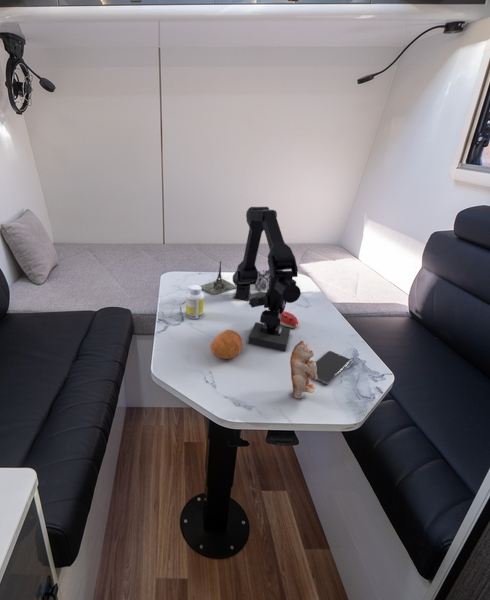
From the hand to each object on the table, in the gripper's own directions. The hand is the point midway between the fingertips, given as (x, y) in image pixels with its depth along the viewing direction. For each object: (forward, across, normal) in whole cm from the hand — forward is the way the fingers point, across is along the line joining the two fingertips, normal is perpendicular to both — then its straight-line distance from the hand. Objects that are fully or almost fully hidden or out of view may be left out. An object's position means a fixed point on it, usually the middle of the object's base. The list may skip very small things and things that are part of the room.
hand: (271, 330), depth 127 cm
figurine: (+2, +28, +12) cm, 30 cm away
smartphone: (+2, +13, +19) cm, 23 cm away
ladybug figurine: (+2, -11, +4) cm, 12 cm away
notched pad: (+2, +3, 0) cm, 4 cm away
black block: (+2, +1, 0) cm, 2 cm away
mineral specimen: (+3, -40, -10) cm, 41 cm away
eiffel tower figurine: (+3, -32, -28) cm, 43 cm away
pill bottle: (+2, -3, -29) cm, 29 cm away
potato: (+2, +18, -11) cm, 21 cm away
